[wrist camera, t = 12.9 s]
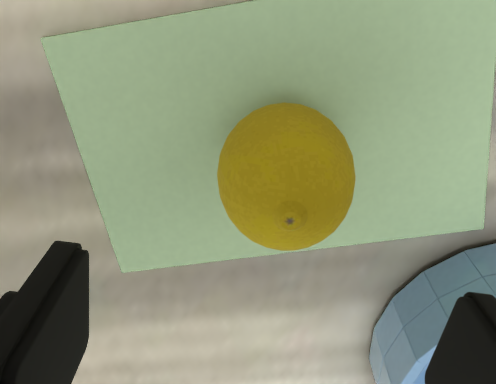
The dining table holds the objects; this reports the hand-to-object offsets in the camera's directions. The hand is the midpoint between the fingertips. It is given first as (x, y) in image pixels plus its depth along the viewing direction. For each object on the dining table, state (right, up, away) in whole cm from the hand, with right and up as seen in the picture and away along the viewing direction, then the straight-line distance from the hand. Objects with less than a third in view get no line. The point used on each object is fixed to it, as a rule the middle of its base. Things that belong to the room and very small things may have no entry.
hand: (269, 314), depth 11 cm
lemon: (+1, +6, +11) cm, 12 cm away
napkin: (+1, +6, +11) cm, 12 cm away
